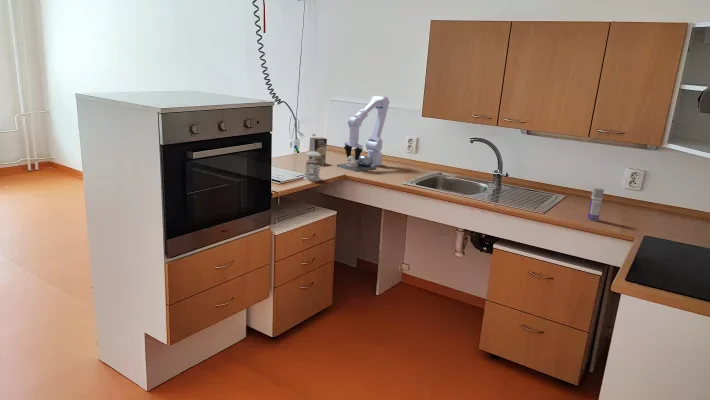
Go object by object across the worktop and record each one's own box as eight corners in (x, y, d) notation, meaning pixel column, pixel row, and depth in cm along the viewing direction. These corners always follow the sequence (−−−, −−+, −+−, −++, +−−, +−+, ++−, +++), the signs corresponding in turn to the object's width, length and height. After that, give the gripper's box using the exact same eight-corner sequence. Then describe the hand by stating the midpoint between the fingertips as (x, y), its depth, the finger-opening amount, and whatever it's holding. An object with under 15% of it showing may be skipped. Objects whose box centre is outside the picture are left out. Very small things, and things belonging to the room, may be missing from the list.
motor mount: (357, 164, 339) (358, 153, 337) (376, 168, 327) (377, 157, 325) (336, 166, 327) (337, 155, 325) (355, 171, 315) (356, 159, 313)
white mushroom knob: (352, 164, 329) (353, 155, 327) (358, 166, 325) (359, 156, 323) (344, 165, 324) (344, 156, 323) (350, 167, 320) (350, 157, 319)
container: (589, 217, 246) (594, 186, 242) (599, 219, 243) (605, 188, 239) (586, 219, 242) (591, 188, 238) (596, 221, 239) (602, 190, 235)
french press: (299, 177, 290) (301, 132, 283) (317, 175, 297) (319, 132, 290) (309, 181, 282) (311, 135, 276) (327, 179, 289) (329, 134, 283)
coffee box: (314, 164, 328) (315, 139, 324) (308, 162, 332) (309, 137, 328) (325, 163, 333) (327, 138, 329) (320, 161, 338) (321, 137, 334)
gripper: (341, 135, 323) (340, 157, 327) (357, 138, 313) (355, 161, 316) (349, 134, 328) (348, 156, 331) (365, 138, 318) (364, 160, 321)
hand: (352, 158), depth 324 cm, fingers open, 7 cm apart
